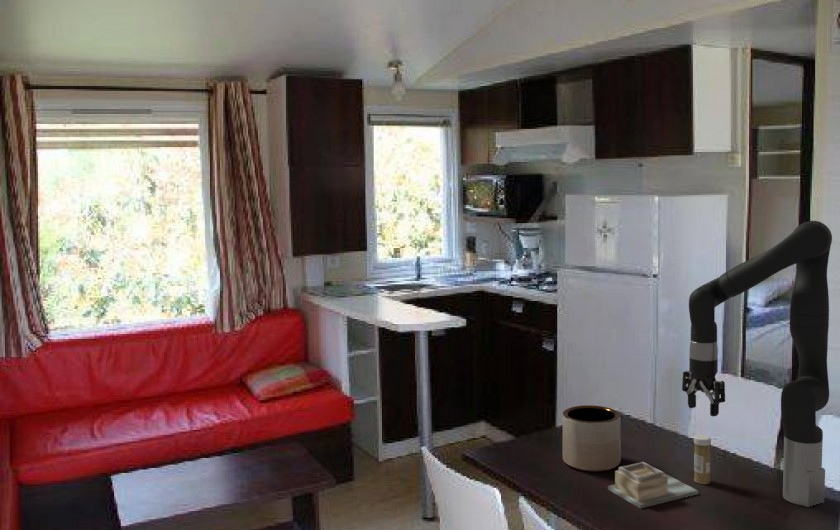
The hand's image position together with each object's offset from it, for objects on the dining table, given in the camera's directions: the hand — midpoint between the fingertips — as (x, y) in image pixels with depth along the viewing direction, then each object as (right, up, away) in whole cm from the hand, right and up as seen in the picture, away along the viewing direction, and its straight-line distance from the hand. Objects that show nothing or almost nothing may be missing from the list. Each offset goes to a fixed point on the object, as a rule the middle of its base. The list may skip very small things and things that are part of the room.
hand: (702, 411), depth 215 cm
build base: (-15, -22, -3) cm, 27 cm away
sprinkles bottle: (+1, -21, +2) cm, 21 cm away
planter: (-27, -20, +20) cm, 39 cm away
